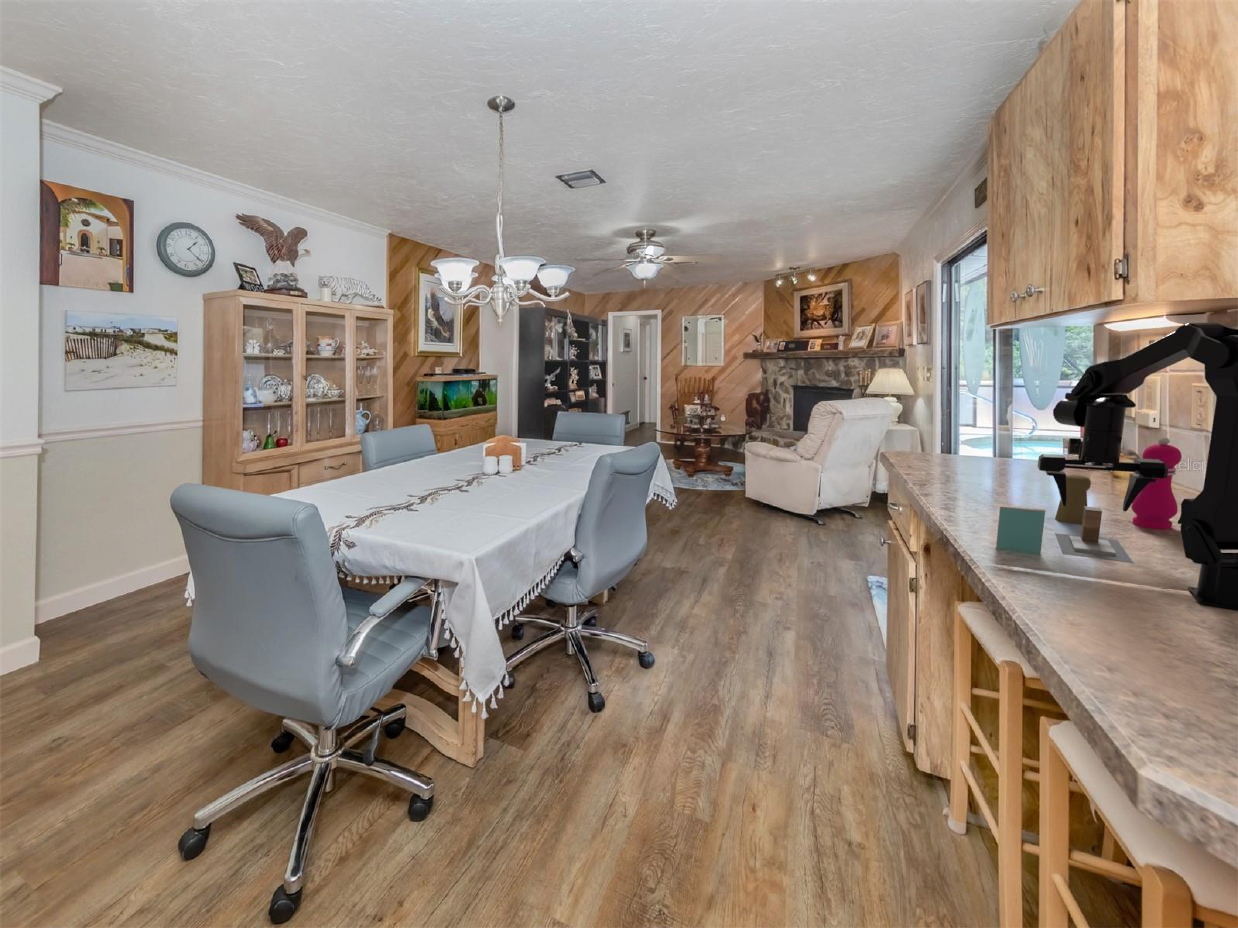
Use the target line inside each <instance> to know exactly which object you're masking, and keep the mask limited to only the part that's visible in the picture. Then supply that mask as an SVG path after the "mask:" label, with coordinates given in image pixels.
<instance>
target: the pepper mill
mask: <svg viewBox="0 0 1238 928" xmlns="http://www.w3.org/2000/svg"><path fill="white" fill-rule="evenodd" d="M1170 441H1171V440H1170V438H1168V437H1166V436H1163V437H1160V438H1158V441H1157V442H1158V443H1156V444H1152V445H1149V446H1148V447H1146V448H1145V449H1144V451H1142V455H1141V459H1158V460H1160V461H1162V462H1164V463H1165V464H1166V465H1167V466H1168V475H1167V478H1155V479H1157V482H1150V483H1149V484H1148V485H1147V486H1146V487H1145V488H1144V489H1143V490H1142V491H1141V492H1140V493H1139V494H1138V496H1137V497H1136V499H1135V500H1134V501H1133V503H1132V504H1131V506H1130V507H1131V510H1132V511H1133V514H1135V515H1136V516H1133V517H1132V520H1131V521H1132V522H1131V524H1132V525H1134V526H1137V527H1140V528H1144V529H1151V530H1163V531H1164V530H1172V529H1173V522H1172V520H1170V519H1172V518H1174V517H1176V516H1177V514H1178V508H1179V507H1178V503H1177V499H1176V498H1175V495H1174V493H1173V489H1172V480H1173V477H1174V476H1175V475H1176V474H1177V473H1176V471H1177V468H1176V466H1177V465H1178V464H1179V463H1180V462H1181V461H1182V453H1181V452H1182V451H1180V449H1179V448H1178V447H1177V446H1174V445H1170Z"/></svg>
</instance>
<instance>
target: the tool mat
mask: <svg viewBox="0 0 1238 928" xmlns="http://www.w3.org/2000/svg"><path fill="white" fill-rule="evenodd" d="M1054 535H1055V537H1056V541H1057V543H1058V545H1059V548H1060V551H1061V553H1062V554H1063V555H1069V556H1074V557H1075V556H1076V557H1085V558H1091V559H1097V560H1098V559H1100V560H1108V561H1113V562H1114V561H1115V562H1123V563H1129V564H1130V563H1132V564H1133V563H1134V561H1133V560H1132V558H1131V557H1130V556H1129V555H1128V553H1127V551H1126V550H1125V549H1124V547H1123V546H1122V544H1121V543H1120V541H1119V540H1118V539H1110V538H1109V539H1108V538H1100V537H1099V539H1104V540H1108V541H1109V543H1110V545H1111V546H1112V548H1113V549H1114V551H1115V552H1116V556H1112V555H1104V554H1096V553H1087V552H1079V551H1074V549H1073V547H1072V545H1071V542H1070V540H1069V536H1077V537H1080V536H1081V535H1074V534H1064V533H1055V532H1054Z"/></svg>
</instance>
